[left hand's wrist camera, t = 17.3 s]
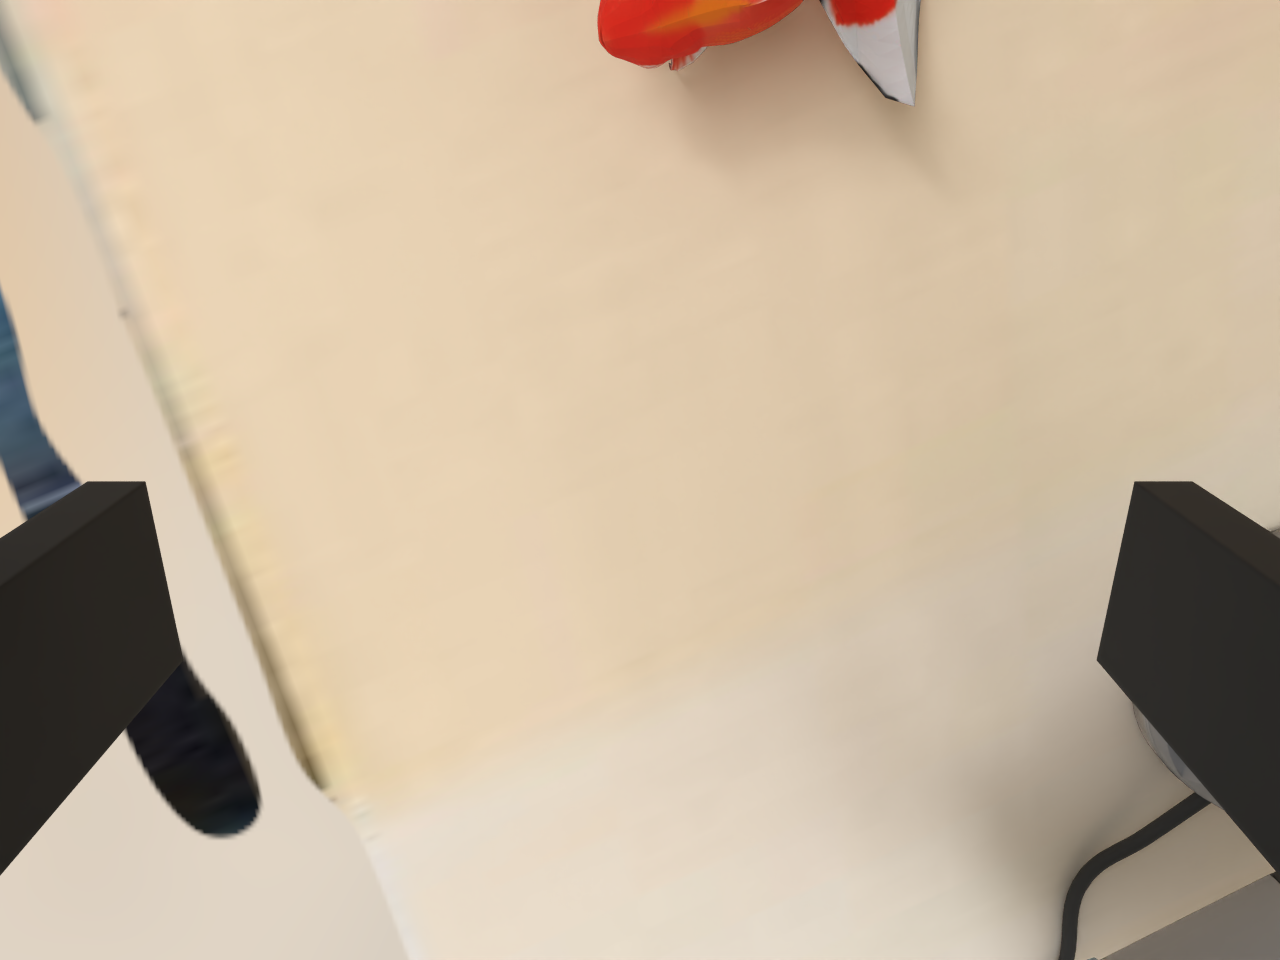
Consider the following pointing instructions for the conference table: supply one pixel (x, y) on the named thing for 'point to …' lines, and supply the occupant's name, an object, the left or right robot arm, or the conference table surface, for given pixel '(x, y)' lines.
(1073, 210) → the conference table surface
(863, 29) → the fish
